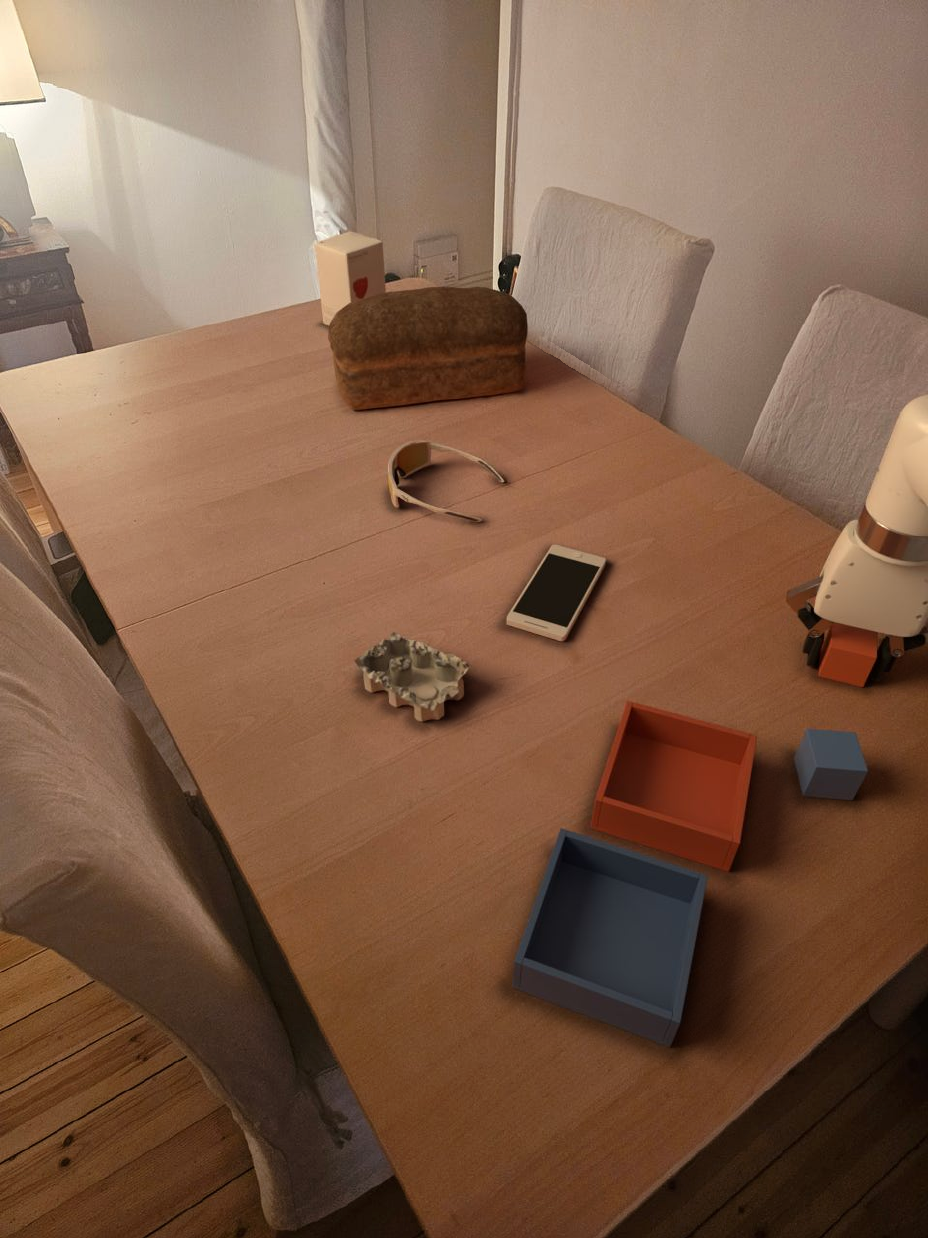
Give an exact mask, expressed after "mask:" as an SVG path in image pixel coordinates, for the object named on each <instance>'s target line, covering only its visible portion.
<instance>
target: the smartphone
mask: <svg viewBox="0 0 928 1238" xmlns="http://www.w3.org/2000/svg"><path fill="white" fill-rule="evenodd" d="M606 563H607V558H606V557H604V556H600V555H596V554H593V553H589V552H585V551H581V550H579V549H578V550H577V549H574V548H571V547H566V546H562V545H559V544H556V543H555V544H552V545H551V546H550V548H549V549H548V551H547V552H546V554H545V555H544V557H543V559H542V560H541V562H540V563H539V564H538V566H537V568H536V570H535V572H534V573H533V574H532V576H531V577H530V579H529V580H528V582H527V584H526V586H525V587H524V589H523V590H522V591H521V593H520V595H519V596H518V598H517V600H516V602H515V603H514V604H513V606H512V608H511V609H510V611H509V612H508V614H507V615H506V623H505V624H506V625H507V626H510V627H513V628H515V629H519V630H522V631H526V632H530V633H533V634H535V635H539V636H542V637H546V638H549V639H553V640H556V641H559V642H565V640H567V638H568V637H569V634H570V632H571V630H572V628H573V626H574V625H575V623H576V622H577V619H578V617H579V615H580V613H581V612H582V610H583V608H584V607H585V604H586V602H587V601H588V599H589V597H590V595H591V593H592V591H593V589H594V588H595V585H596V584H597V582H598V580H599V578H600V576H601V574H602V573H603V570H604V569H605V567H606Z"/></svg>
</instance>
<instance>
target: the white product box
mask: <svg viewBox="0 0 928 1238" xmlns="http://www.w3.org/2000/svg"><path fill="white" fill-rule="evenodd" d="M383 242H384V241H382V240H380V239H377V238H374V237H371V236H366V235H364V234H361V233H359V232H356V231H353V230H350V231H347V232H344V233H340V234H338V235H333V236H330V237H328V238H325V239H321V240H318V241H315V242H314V253H315V262H316V268H317V270H316V271H317V279H318V286H319V295H320V304H321V305H320V306H321V313H322V322H323V325H326V326H328V327H329V324H330V322H331V321H332V319H333V318H334V316H335V315H336V313H337V312H338V311H339V310H341V309H342V308H343V307H345V306H346V305H347V304H349V303H352V302H355V301H358V300H362V299H365V298H368V297H371V296H374V295H378V294H382V293H387V290H386V273H385V260H384V258H385V257H384V245H383V244H384V243H383Z"/></svg>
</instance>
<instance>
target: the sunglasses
mask: <svg viewBox="0 0 928 1238" xmlns="http://www.w3.org/2000/svg"><path fill="white" fill-rule="evenodd" d="M432 450H434V451H438V452H441V453H453V454H458V455H460V456H462V457H465V458H466V459H468V460H470V461H473V462H476V463H478V464H480V465H481V466H483V467H484V468H486V470H488V471H489V472H490V473H491V474H492V475H493V476H494V477H495V478H496V479H497V480H498V481H499V482H500V483H505V480H504V478H502V476H501V475H500V473H498V472H497V471H496V470H495V468H493V467H492V466H491V465H489V464H488V463H487V462H486V461H485V460H483V459H481V458H480V457H478V456H475V455H472V454H470V453H468V452H465V451H462V450H460V449H458V448H454V447H451V446H448V445H445V444H440V443H437V442H432V441H429V440H427V439H420V440H409V441H406V442H404V443H403V444H401V445H400V446H398V447H397V448H396V449H394V451H393V452H392V454H391V455H390V457H389V460H388V463H387V464H388V465H387V470H388V472H387V480H388V491H389V494H390V497H391V502H392V505H393V507H395V508H400V504H399V499H398V498H400V499H402V500H403V501H405V502H406V503H410V504H414V505H417V506H419V507H423V508H425V509H428V510H429V511H432V512H435V513H438V514H443V515H448V516H452V517H456V518H460V519H463V520H467V521H471V522H476V523H480V522H482V521H483V519H482V518H479V517H476V516H473V515H468V514H464V513H461V512H457V511H455V510H451V509H448V508H442V507H437V506H434V505H431V504H428V503H427V502H423V501H422V500H419V499H417V498H415V497H413V496H411V495H409V494H408V493H406V492H404V491H403V490H402V489H400V488H398V486H399V485H400V478H404V479H405V478H407V477H408V476H410V475H411V474H414V473H415V472H417V471H419V470H421V469H423V468H424V467H427V466H429V465H430V464H431V462H432V461H431V460H432Z"/></svg>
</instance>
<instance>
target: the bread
mask: <svg viewBox="0 0 928 1238" xmlns="http://www.w3.org/2000/svg"><path fill="white" fill-rule="evenodd" d="M528 330H529V325H528V315H527V311H526V310H525V308H524V306H523V305H522V304H521V303H520V302H519V301H518V300H517V299H516V298H515V297H514V296H512V295H511V294H510V293H506V292H504V291H500V290H497V289H494V288H489V287H486V286H472V287H471V286H470V287H456V286H455V287H454V286H430V287H423V288H416V289H404V290H395V291H388V292H387V291H386V293H382V294H378V295H374V296H371V297H368V298H365V299H362V300H358V301H355V302H352V303H349V304H347V305H346V306H345V307H343V308H342V309H341V310H339V311H338V312H337V313H336V315H335V316H334V318H333V319H332V321H331V322H330V324H329V326H328V334H327V335H328V336H327V340H328V342H329V346H330V347H329V348H330V349H331V352H332V362H333V368H334V369H333V370H334V374H335V379H336V384H337V388H338V392H339V395H340V397H341V399H342V400H343V402H344V404H346V405H347V407H349V408H350V409H351V410H352V411H360V410H368V409H377V408H387V407H395V406H404V405H405V406H406V405H413V404H418V403H427V402H434V401H440V400H441V401H442V400H457V399H467V398H468V399H469V398H474V397H483V396H493V395H500V394H506V393H515V392H518V391H521V390H523V388H524V386H525V382H526V381H525V380H526V372H527V362H526V361H527V360H526V343H527V338H528V333H529V331H528Z"/></svg>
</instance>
